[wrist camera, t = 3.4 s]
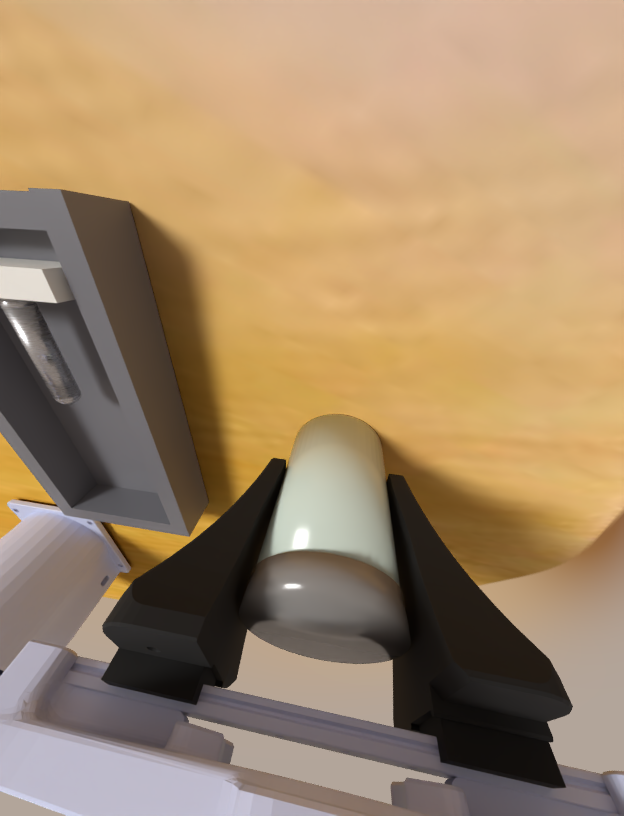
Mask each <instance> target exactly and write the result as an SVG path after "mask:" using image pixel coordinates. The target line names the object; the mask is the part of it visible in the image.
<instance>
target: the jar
mask: <svg viewBox="0 0 624 816" xmlns="http://www.w3.org/2000/svg"><path fill="white" fill-rule="evenodd" d="M239 617H240V620H241V622H242V623H243V624H244V626H245V627H246V628H247V629H248V630H249V631H251V632H252V633H253V634H254V635H256V636H257V637H259V638H260V639H262V640H264V641H266V642H268V643H270V644H272V645H274V646H276V647H279V648H281V649H284V650H286V651H289V652H292V653H296V654H298V655H302V656H306V657H310V658H314V659H319V660H324V661H331V662H339V663H353V664H366V663H378V662H385V661H389V660H392V659H395V658H398V657H400V656H402V655H403V654H405V653H406V652H407V651H408V650H409V648H410V646H411V638H410V631H409V624H408V617H407V609H406V602H405V597H404V593H403V591H402V589H401V588H400V583H399V575H398V567H397V559H396V552H395V544H394V536H393V529H392V521H391V513H390V505H389V498H388V490H387V482H386V475H385V467H384V459H383V451H382V445H381V441H380V439H379V437H378V435H377V433H376V432H375V431H374V430H373V429H372V428H371V427H370V426H369V425H368V424H366V423H365V422H363V421H361V420H359V419H357V418H354V417H351V416H348V415H341V414H329V415H323V416H320V417H317V418H314V419H312V420H310V421H309V422H307V423H306V424H305V425H303V427H302V428H301V429H300V430H299V432H298V433H297V436H296V438H295V442H294V445H293V448H292V451H291V455H290V458H289V461H288V464H287V468H286V471H285V474H284V477H283V481H282V484H281V487H280V490H279V494H278V497H277V500H276V503H275V507H274V510H273V513H272V516H271V520H270V523H269V526H268V529H267V533H266V536H265V539H264V542H263V546H262V549H261V552H260V555H259V559H258V562H257V564H256V565H255V567H254V568H253V570H252V571H251V574H250V577H249V580H248V584H247V587H246V590H245V593H244V596H243V599H242V603H241V606H240V609H239Z"/></svg>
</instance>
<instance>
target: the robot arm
mask: <svg viewBox="0 0 624 816" xmlns="http://www.w3.org/2000/svg"><path fill="white" fill-rule="evenodd" d="M285 471H286V460H284V459H277V458H273V459H271V461H270V462H269V464H268V465H267V466H266V468H265V469H264V470H263V472H262V473H261V474H260V475H259V477H258V478H257V479H256V480H255V482H254V483H253V484H252V485H251V486H250V487H249V488H248V490H247V491H246V492H245V493H244V494H243V495H242V496H241V497H240V498H239V499H238V500H237V501H236V502H235V504H234V505H233V506H232V507H231V508H230V509H229V510H228V511H227V512H225V513H224V514H223V515H222V516H221V517H220V518H219V519H218V520H217V521H216V522H215V523H213V524H212V525H211V526H210V527H209V528H207V529H206V530H205V531H204V532H203V533H201V534H200V535H199V536H198V537H196V538H195V539H194V540H193V541H191V542H190V543H189V544H187V545H186V546H184V547H183V548H182V549H180V550H179V551H178V552H176V553H175V554H173V555H172V556H171V557H169V558H168V559H166V560H165V561H163V562H162V563H160V564H159V565H157V566H156V567H154V568H152V569H151V570H149V571H148V572H146V573H145V574H143V575H142V576H140V577H138V578H137V579H135V580H134V581H133V582H132V584H131V585H130V586H129V588H128V589H127V590H126V591H125V592H124V594H123V595H122V597H121V598H120V599H119V601H118V602H117V604H116V606H115V607H114V609H113V610H112V612H111V613H110V615H109V616H108V618H107V619H106V621H105V622H104V624H103V625H102V626H103V632H104V634H105V635H106V636H107V637H108V638H109V639H110V640H112V641H113V642H114V643H115V644H116V645H117V646H118V647H119V649H118V651H117V652H116V654H115V656H114V658H113V659H112V661H111V663H106V662H102V661H98V660H93V659H89V658H84V657H80V656H77V654H76V653H75V652H74V651H73V650H71V649H69V648H66V645H67V644H68V643H69V642H70V641H71V640H72V638H73V637H74V635H75V634H76V633H77V631H78V630H79V628H80V627H81V626H82V624H83V623H84V621H85V620H86V619H87V617H88V616H89V614H90V613H91V611H92V610H93V609H94V607H95V606H96V605H97V603H98V602H99V600H100V599H101V598H102V596H103V595H104V594H105V592H106V591H107V589H108V588H109V587H110V585H111V584H112V582H113V581H114V580H115V578H116V577H117V575H118V574H119V573H120V572H124V573H128V572H129V571H130V570H131V567H130V565H129V564H128V562H127V561H126V559H125V558H124V556H123V555H122V553H121V552H120V550H119V549H118V547H117V546H116V544H115V543H114V541H113V540H112V538H111V537H110V535H109V534H108V532H107V531H106V529H105V528H104V526H103V525H102V523H101V522H100V521H95V520H89V519H83V518H78V517H72V516H66V515H64V514H63V512H62V511H61V510H60V508H59V507H56V506H51V505H45V504H39V503H33V502H27V501H21V500H15V499H13V500H11V501H9V502H8V503H7V505H8V507H9V508H10V509H11V510H12V511H13V512H14V513H15V514H16V515H17V516H18V517H19V518H20V519H21V520H22V521H21V522H20V523H19V524H18V525H17V526H15V527H14V528H13V529H12V530H11V531H9V532H8V533H7V534H6V535H5V536H3V537H2V538H1V539H0V791H1V792H4V793H7V794H9V795H12V796H15V797H18V798H20V799H23V800H26V801H28V802H31V803H34V804H37V805H39V806H42V807H45V808H47V809H50V810H53V811H56V812H58V813H61V814H64V815H67V816H624V771H607V772H603V774H599V773H595V772H590V771H586V770H582V769H577V768H573V767H568V766H564V765H559V764H557V762H556V760H555V757H554V754H553V752H552V749H551V747H550V744H549V742H553V736H552V734H551V732H550V729H549V727H548V724H547V721H551V720H553V719H557V718H560V717H563V716H565V715H567V714H569V713H570V712H571V710H572V707H573V706H572V704H571V702H570V699H569V697H568V695H567V693H566V691H565V689H564V686H563V684H562V682H561V680H560V678H559V676H558V674H557V672H556V671H555V669H554V667H553V665H552V663H551V661H550V660H549V658H547V657H546V656H545V655H544V654H543V653H542V652H541V651H540V650H539V649H538V648H537V647H536V646H535V645H534V644H533V643H532V642H531V641H530V640H529V639H528V638H526V636H525V635H523V634H522V633H521V632H520V631H519V630H518V629H517V628H516V627H515V626H514V625H513V624H512V623H511V622H510V621H509V620H508V619H507V618H506V617H505V616H504V615H503V613H502V612H501V611H500V610H499V609H498V608H497V607H496V606H495V605H494V604H493V603H492V602H491V601H490V599H489V598H488V597H487V596H486V595H485V594H484V593H483V592H482V590H480V588H479V587H478V586H477V585H476V584H475V583H474V581H473V580H472V579H471V578H470V577H469V575H468V574H467V573H466V572H465V571H464V569H463V568H462V567H461V566H460V564H459V563H458V562H457V561H456V559H455V558H454V557H453V555H452V554H451V553H450V551H449V550H448V549H447V547H446V546H445V545H444V543H443V542H442V540H441V539H440V537H439V536H438V534H437V533H436V532H435V530H434V529H433V527H432V525H431V524H430V522H429V521H428V519H427V518H426V516H425V514H424V513H423V511H422V509H421V508H420V506H419V504H418V503H417V501H416V499H415V497H414V495H413V494H412V492H411V490H410V488H409V486H408V484H407V482H406V480H405V478H404V477H403V476H401V475H393V474H389V476H388V479H387V490H388V498H389V505H390V513H391V521H392V529H393V536H394V544H395V552H396V559H397V567H398V575H399V583H400V588H401V589H402V591H403V593H404V597H405V602H406V609H407V617H408V624H409V631H410V638H411V646H410V648H409V650H408V651H407V652H406V653H405V654H403V655H402V656H400V657H398V658H395V659H393V720H394V727H391V726H386V725H382V724H377V723H373V722H369V721H364V720H360V719H355V718H351V717H346V716H342V715H337V714H333V713H329V712H324V711H320V710H315V709H311V708H306V707H302V706H297V705H293V704H289V703H284V702H279V701H275V700H271V699H266V698H262V697H258V696H253V695H249V694H244V693H240V692H235V691H230V690H226V689H222V688H227V687H229V686H230V685H231V684H232V683H233V682H234V681H235V680H236V679H237V674H238V669H239V664H240V660H241V655H242V651H243V645H244V642H245V637H246V633H247V628H246V627H245V626H244V624H243V623H242V622H241V620H240V617H239V609H240V606H241V603H242V599H243V596H244V593H245V590H246V587H247V584H248V580H249V577H250V574H251V571H252V570H253V568H254V567H255V565H256V564H257V562H258V559H259V555H260V552H261V549H262V546H263V542H264V539H265V536H266V533H267V529H268V526H269V523H270V520H271V516H272V513H273V510H274V507H275V503H276V500H277V497H278V494H279V490H280V487H281V484H282V481H283V477H284V474H285ZM215 686H216V687H215ZM218 687H221V688H218ZM187 716H188V717H192V718H196V719H201V720H205V721H209V722H213V723H217V724H222V725H226V726H230V727H235V728H238V729H243V730H247V731H251V732H256V733H259V734H264V735H268V736H272V737H276V738H280V739H284V740H289V741H293V742H297V743H301V744H305V745H310V746H314V747H318V748H322V749H327V750H331V751H335V752H339V753H343V754H348V755H352V756H356V757H360V758H365V759H368V760H373V761H377V762H381V763H385V764H390V765H394V766H398V767H402V768H406V769H411V770H414V771H419V772H423V773H427V774H432V775H435V776H440V777H444V778H448V779H447V780H446V782H445V784H442V783H435V782H430V781H423V780H418V779H412V778H406V780H405V781H404V782H392V784H391V796H392V805H390V804H387V803H383V802H379V801H375V800H372V799H368V798H364V797H361V796H357V795H353V794H349V793H345V792H341V791H337V790H333V789H330V788H326V787H322V786H318V785H314V784H310V783H306V782H302V781H298V780H294V779H290V778H286V777H282V776H277V775H274V774H269V773H265V772H261V771H257V770H252V769H248V768H243V767H239V766H235V765H231V764H230V761H231V757H232V753H233V748H234V746H233V743H231V742H229V741H228V740H226V739H224V737H223V734H221V733H218V732H215V731H212V730H209V729H206V728H203V727H200V726H196V725H193V724H190V723H189V720H188V718H187Z"/></svg>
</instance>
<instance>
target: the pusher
mask: <svg viewBox="0 0 624 816" xmlns="http://www.w3.org/2000/svg"><path fill="white" fill-rule="evenodd" d="M70 300H75V297H74V295H73V293H72V290H71V288H70V286H69V283H68V281H67V279H66V276H65V274H64V272H63V269H62V267H61V264H60V262H57V261H43V260H29V259H14V258H0V306H1V308H2V310H3V312H4V313H5V315H6V317H7V318H8V320H9V322H10V324H11V325H12V327H13V329H14V330H15V332H16V334H17V336H18V337H19V339H20V341H21V343H22V344H23V346H24V348H25V349H26V351H27V353H28V355H29V356H30V358H31V360H32V362H33V363H34V365H35V367H36V368H37V370H38V372H39V374H40V375H41V377H42V379H43V381H44V382H45V384H46V386H47V387H48V389H49V391H50V393H51V394H52V396H53V398H54V399H55V400H56V401H57V402H59V403H61V404H65V405H69V404H74V403H76V402H78V401H79V400H80V398H81V391H80V389H79V387H78V385H77V383H76V381H75V379H74V377H73V375H72V373H71V371H70V369H69V367H68V365H67V363H66V361H65V359H64V357H63V355H62V353H61V351H60V349H59V347H58V345H57V343H56V341H55V339H54V337H53V335H52V333H51V331H50V329H49V327H48V325H47V323H46V321H45V319H44V317H43V315H42V313H41V311H40V309H39V307H38V305H37V303H36V302H35V301H38V302H49V303H61V302H66V301H70Z"/></svg>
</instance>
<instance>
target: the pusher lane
mask: <svg viewBox="0 0 624 816" xmlns="http://www.w3.org/2000/svg"><path fill="white" fill-rule="evenodd" d="M28 189H29V191H30V192H29V191H7V190H0V258H14V259H29V260H43V261H57V262H60V264H61V267H62V269H63V272H64V274H65V276H66V279H67V281H68V283H69V286H70V288H71V290H72V293H73V295H74V297H75V300H70V301H66V302H61V303H49V302H38V301H35V302H36V303H37V305H38V307H39V309H40V311H41V313H42V315H43V317H44V319H45V321H46V323H47V325H48V327H49V329H50V331H51V333H52V335H53V337H54V339H55V341H56V343H57V345H58V347H59V349H60V351H61V353H62V355H63V357H64V359H65V361H66V363H67V365H68V367H69V369H70V371H71V373H72V375H73V377H74V379H75V381H76V383H77V385H78V387H79V389H80V391H81V398H80V400H79V401H78V402H76V403H74V404H69V405H65V404H61V403H59V402H57V401H56V400H55V399H54V398H53V396H52V394H51V393H50V391H49V389H48V387H47V386H46V384H45V382H44V381H43V379H42V377H41V375H40V374H39V372H38V370H37V368H36V367H35V365H34V363H33V362H32V360H31V358H30V356H29V355H28V353H27V351H26V349H25V348H24V346H23V344H22V343H21V341H20V339H19V337H18V336H17V334H16V332H15V330H14V329H13V327H12V325H11V324H10V322H9V320H8V318H7V317H6V315H5V313H4V312H3V310H2V308H1V306H0V432H1V434H2V435H3V436H4V438H5V439H6V440H7V441H8V443H9V444H10V445H11V447H12V448H13V449H14V451H15V452H16V453H17V454H18V456H19V457H20V458H21V460H22V461H23V462H24V463H25V465H26V466H27V467H28V469H29V470H30V471H31V472H32V474H33V475H34V476H35V478H36V479H37V480H38V481H39V483H40V484H41V485H42V487H43V488H44V489H45V490H46V492H47V493H48V494H49V496H50V497H51V498H52V499H53V501H54V502H55V503H56V505H57V506H58V507H59V508H60V510H61V511H62V512H63V514H64V515H66V516H72V517H78V518H83V519H89V520H95V521H101V522H107V523H113V524H119V525H124V526H130V527H136V528H142V529H148V530H154V531H160V532H165V533H171V534H177V535H183V536H189V537H190V535H191V533H192V531H193V530H194V528H195V526H196V524H197V522H198V521H199V519H200V517H201V515H202V514H203V512H204V510H205V508H206V506H207V505H208V503H209V501H208V497H207V493H206V490H205V486H204V482H203V478H202V475H201V471H200V467H199V463H198V460H197V456H196V452H195V448H194V445H193V441H192V437H191V433H190V430H189V426H188V422H187V418H186V415H185V411H184V407H183V403H182V400H181V396H180V392H179V388H178V384H177V381H176V377H175V373H174V369H173V366H172V362H171V358H170V354H169V351H168V347H167V343H166V339H165V336H164V332H163V328H162V324H161V321H160V317H159V313H158V309H157V306H156V302H155V298H154V294H153V291H152V287H151V283H150V279H149V276H148V272H147V268H146V264H145V260H144V257H143V253H142V249H141V245H140V242H139V238H138V234H137V230H136V227H135V223H134V219H133V215H132V212H131V208H130V204H129V202H127V201H121V200H116V199H110V198H105V197H99V196H94V195H88V194H83V193H77V192H72V191H66V190H61V189H39V188H28Z"/></svg>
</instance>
